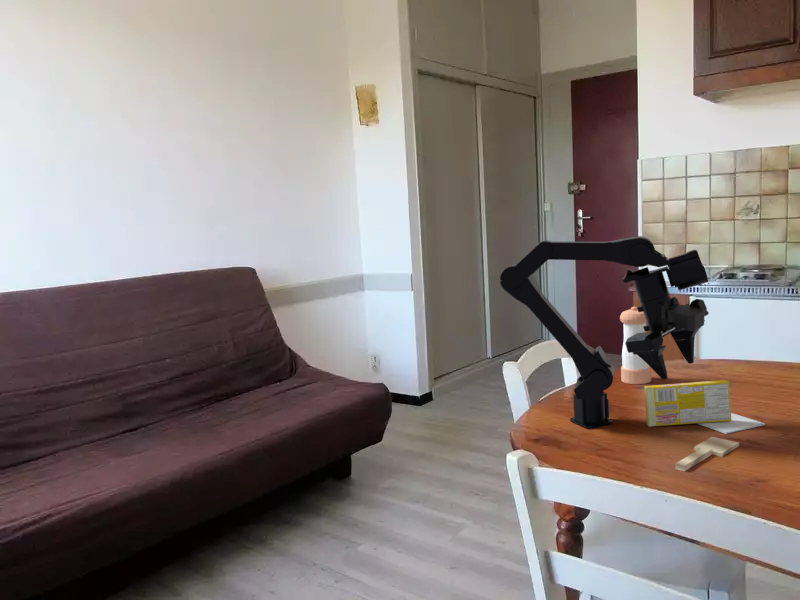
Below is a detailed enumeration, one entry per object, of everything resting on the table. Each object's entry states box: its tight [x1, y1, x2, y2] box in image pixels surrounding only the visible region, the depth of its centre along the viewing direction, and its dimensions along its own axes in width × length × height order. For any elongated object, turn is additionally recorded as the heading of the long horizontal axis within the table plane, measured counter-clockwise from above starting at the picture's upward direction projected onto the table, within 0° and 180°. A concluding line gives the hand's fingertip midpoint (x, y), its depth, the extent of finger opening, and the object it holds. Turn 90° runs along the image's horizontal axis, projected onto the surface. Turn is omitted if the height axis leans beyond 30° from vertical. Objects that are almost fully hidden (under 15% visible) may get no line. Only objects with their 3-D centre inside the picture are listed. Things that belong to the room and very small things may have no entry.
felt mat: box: [695, 412, 766, 435], centre depth 134 cm, size 10×16×1 cm, turn 20°
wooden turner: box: [674, 436, 740, 472], centre depth 116 cm, size 17×5×1 cm, turn 130°
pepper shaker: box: [619, 306, 652, 385], centre depth 165 cm, size 7×7×19 cm
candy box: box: [643, 379, 732, 428], centre depth 132 cm, size 16×2×8 cm, turn 84°
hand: (678, 371), depth 130 cm, fingers open, 9 cm apart
